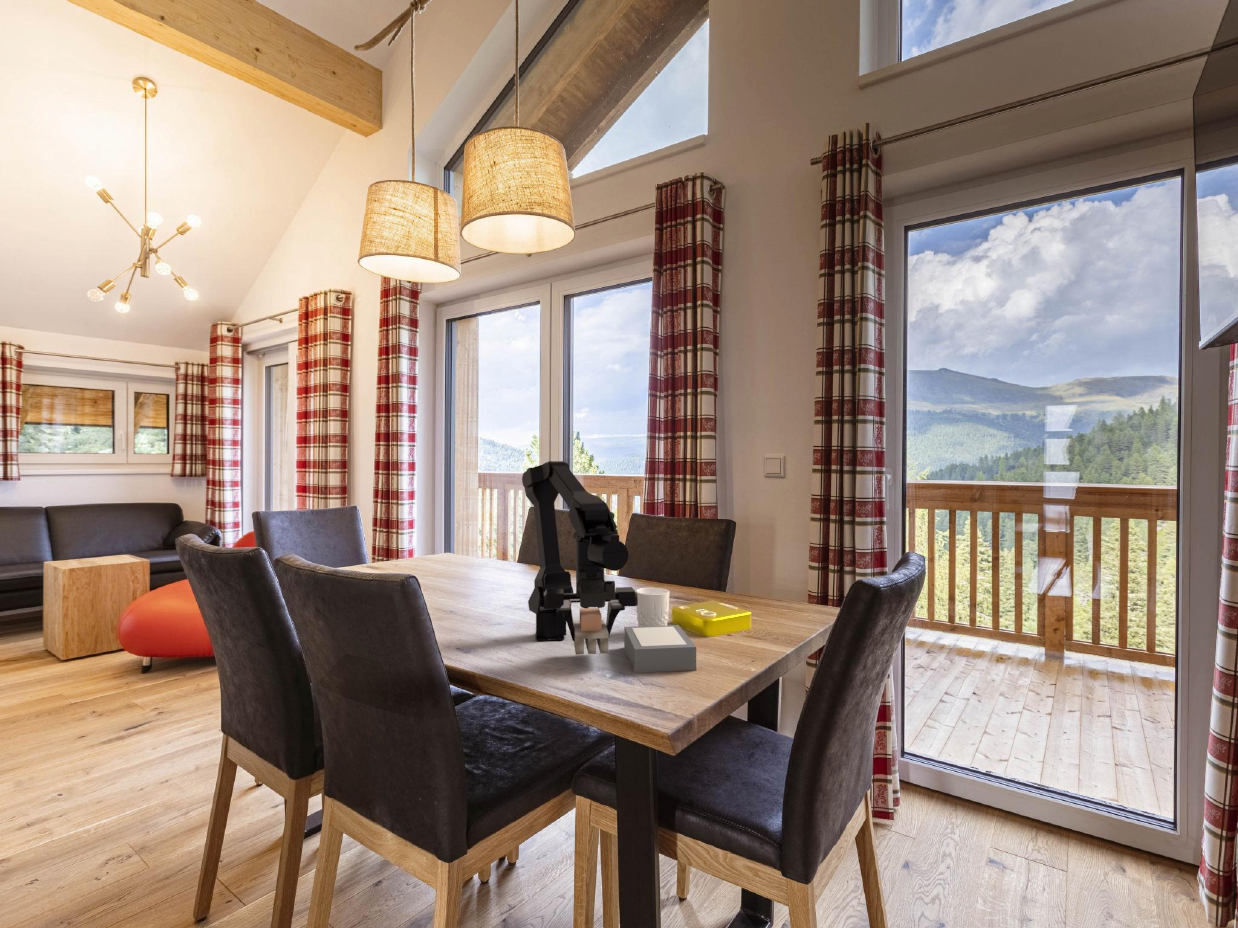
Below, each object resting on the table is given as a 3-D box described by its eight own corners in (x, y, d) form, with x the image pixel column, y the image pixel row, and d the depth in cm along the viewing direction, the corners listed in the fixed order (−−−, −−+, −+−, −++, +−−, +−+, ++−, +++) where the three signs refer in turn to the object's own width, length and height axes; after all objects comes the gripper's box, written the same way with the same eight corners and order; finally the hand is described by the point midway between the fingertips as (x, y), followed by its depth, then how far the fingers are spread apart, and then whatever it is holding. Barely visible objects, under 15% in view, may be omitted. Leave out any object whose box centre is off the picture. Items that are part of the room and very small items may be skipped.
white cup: (657, 640, 140) (657, 596, 140) (629, 634, 145) (629, 591, 145) (675, 632, 146) (675, 590, 146) (648, 626, 151) (648, 586, 151)
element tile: (755, 629, 150) (755, 609, 150) (707, 639, 142) (707, 618, 142) (714, 616, 163) (714, 598, 163) (668, 624, 155) (668, 605, 155)
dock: (635, 672, 119) (634, 648, 119) (624, 647, 135) (624, 626, 135) (696, 669, 120) (696, 646, 120) (678, 645, 136) (678, 624, 136)
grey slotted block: (575, 654, 120) (575, 634, 120) (573, 639, 130) (573, 620, 130) (608, 653, 121) (608, 632, 121) (603, 638, 131) (603, 619, 131)
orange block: (581, 630, 123) (581, 615, 123) (579, 622, 128) (579, 608, 128) (601, 630, 123) (601, 615, 123) (598, 622, 129) (598, 607, 129)
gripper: (543, 571, 117) (543, 654, 117) (641, 569, 119) (642, 650, 119) (543, 561, 128) (543, 637, 128) (633, 559, 130) (633, 634, 130)
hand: (590, 639), depth 126 cm, fingers closed on grey slotted block, 6 cm apart
